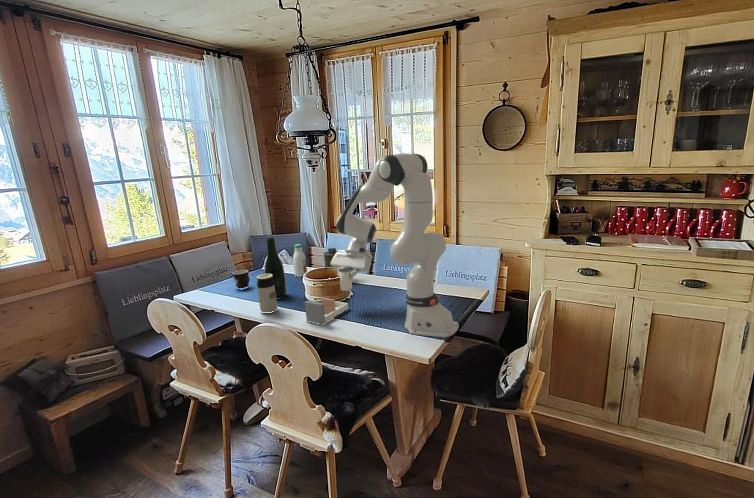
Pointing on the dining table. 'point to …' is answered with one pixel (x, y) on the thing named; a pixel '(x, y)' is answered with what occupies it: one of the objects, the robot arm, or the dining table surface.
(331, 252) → the canister
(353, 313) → the dining table surface
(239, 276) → the coffee mug
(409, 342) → the dining table surface
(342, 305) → the pusher lane
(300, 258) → the milk bottle
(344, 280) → the jar
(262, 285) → the travel mug
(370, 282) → the dining table surface
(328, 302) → the spring pusher
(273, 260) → the wine bottle
